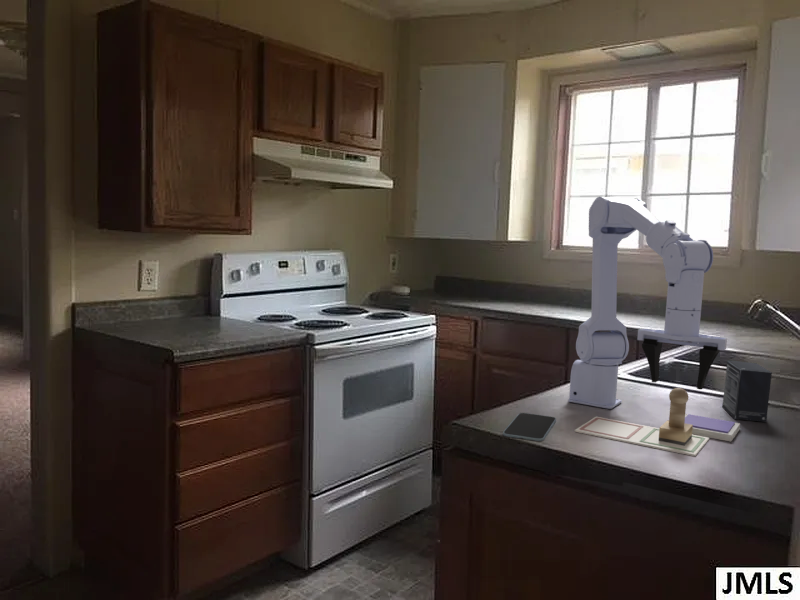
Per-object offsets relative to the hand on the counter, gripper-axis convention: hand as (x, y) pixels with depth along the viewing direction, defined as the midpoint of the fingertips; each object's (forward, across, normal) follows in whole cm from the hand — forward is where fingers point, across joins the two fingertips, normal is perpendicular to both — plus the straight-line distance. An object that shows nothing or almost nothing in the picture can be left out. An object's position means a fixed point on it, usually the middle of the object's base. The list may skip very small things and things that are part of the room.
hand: (677, 384), depth 123 cm
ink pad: (+10, +4, +12) cm, 16 cm away
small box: (+11, +8, +30) cm, 33 cm away
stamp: (+10, 0, +1) cm, 10 cm away
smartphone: (+11, -24, -9) cm, 27 cm away
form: (+10, -6, 0) cm, 12 cm away
